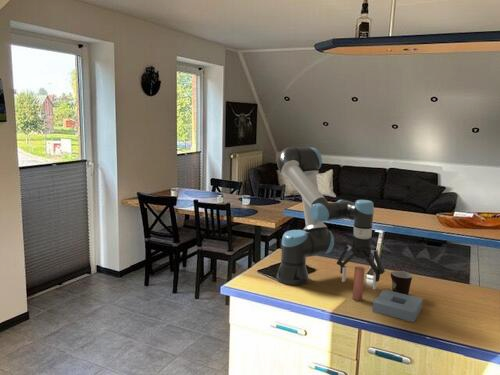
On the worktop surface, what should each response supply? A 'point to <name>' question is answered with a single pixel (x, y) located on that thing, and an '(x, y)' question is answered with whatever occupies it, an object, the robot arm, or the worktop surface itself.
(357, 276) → the peg
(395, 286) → the coffee mug
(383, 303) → the socket slab
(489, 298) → the worktop surface
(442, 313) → the worktop surface
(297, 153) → the robot arm
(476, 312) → the worktop surface
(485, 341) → the worktop surface
